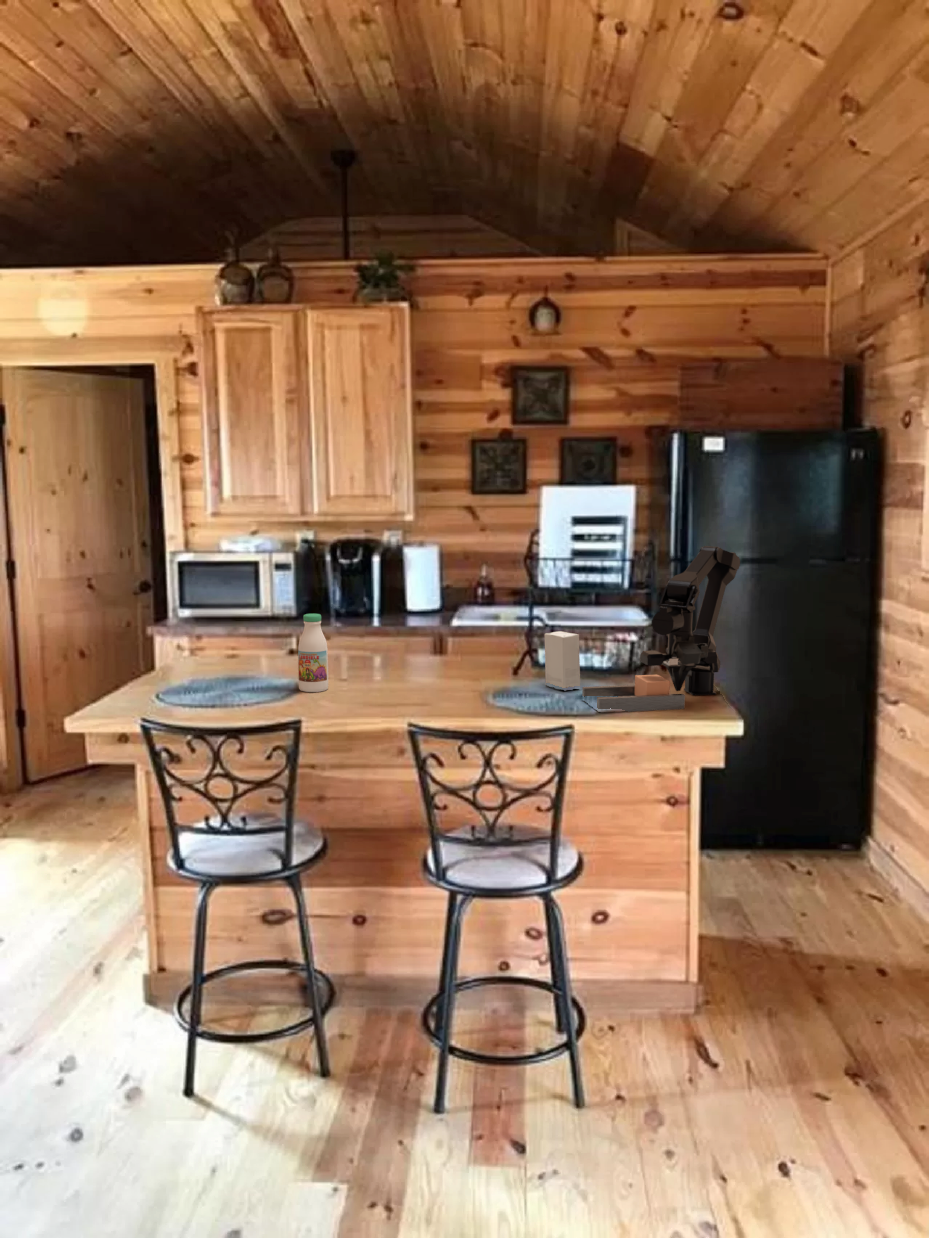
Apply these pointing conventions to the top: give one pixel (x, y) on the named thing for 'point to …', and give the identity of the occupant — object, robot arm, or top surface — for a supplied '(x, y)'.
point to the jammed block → (651, 685)
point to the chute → (633, 699)
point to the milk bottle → (313, 656)
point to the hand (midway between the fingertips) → (677, 690)
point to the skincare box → (562, 659)
